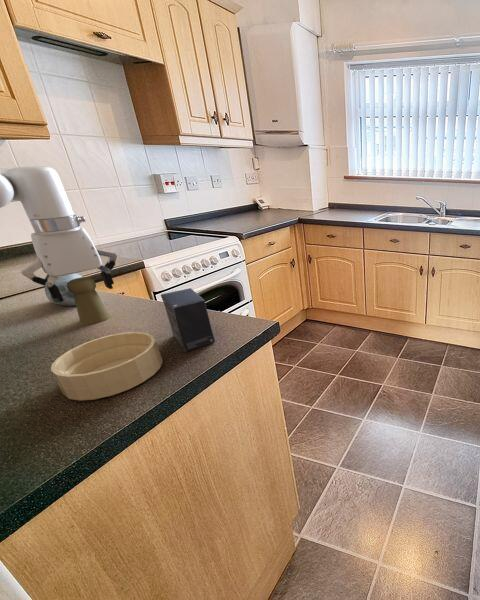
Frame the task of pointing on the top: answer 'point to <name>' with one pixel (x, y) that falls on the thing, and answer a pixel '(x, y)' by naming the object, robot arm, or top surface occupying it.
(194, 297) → the small box
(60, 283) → the light blue rounded lump
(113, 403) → the top surface
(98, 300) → the cork
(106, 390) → the bowl
